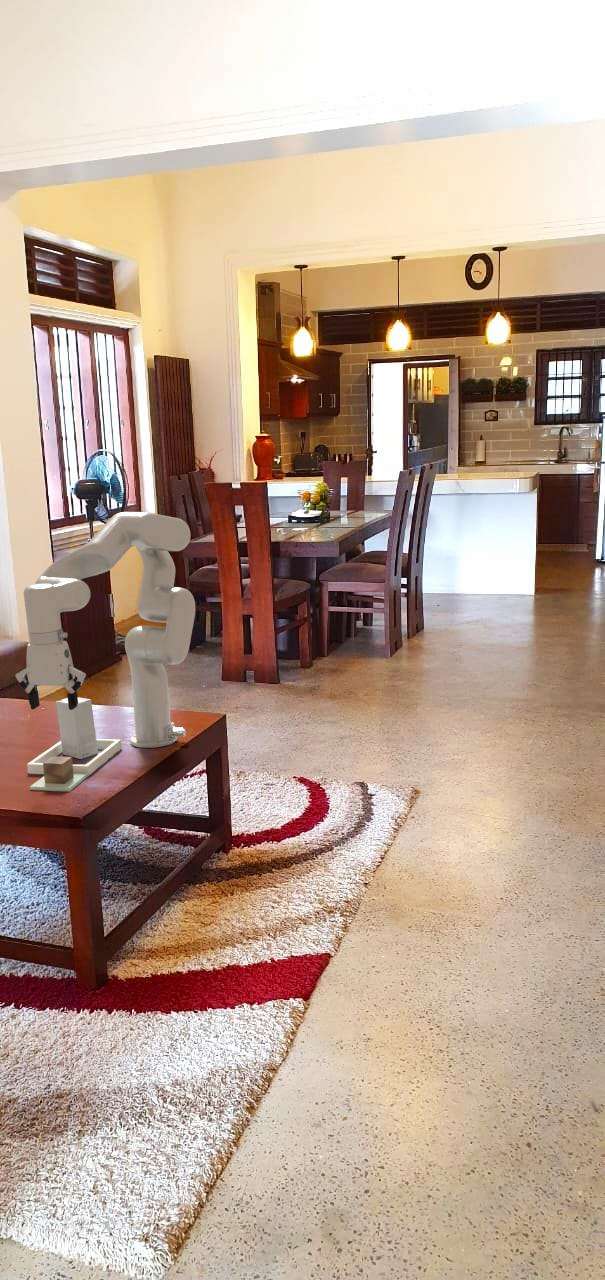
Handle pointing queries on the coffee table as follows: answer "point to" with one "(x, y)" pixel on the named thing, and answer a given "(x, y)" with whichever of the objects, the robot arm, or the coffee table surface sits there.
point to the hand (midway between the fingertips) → (54, 707)
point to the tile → (59, 787)
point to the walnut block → (58, 770)
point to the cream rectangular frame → (107, 744)
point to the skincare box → (77, 728)
